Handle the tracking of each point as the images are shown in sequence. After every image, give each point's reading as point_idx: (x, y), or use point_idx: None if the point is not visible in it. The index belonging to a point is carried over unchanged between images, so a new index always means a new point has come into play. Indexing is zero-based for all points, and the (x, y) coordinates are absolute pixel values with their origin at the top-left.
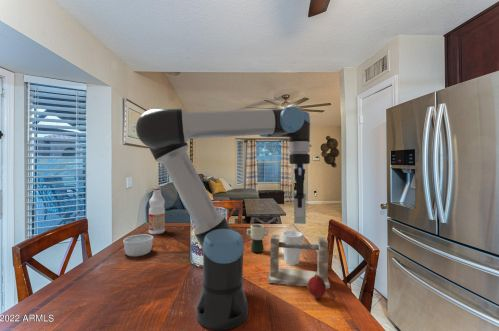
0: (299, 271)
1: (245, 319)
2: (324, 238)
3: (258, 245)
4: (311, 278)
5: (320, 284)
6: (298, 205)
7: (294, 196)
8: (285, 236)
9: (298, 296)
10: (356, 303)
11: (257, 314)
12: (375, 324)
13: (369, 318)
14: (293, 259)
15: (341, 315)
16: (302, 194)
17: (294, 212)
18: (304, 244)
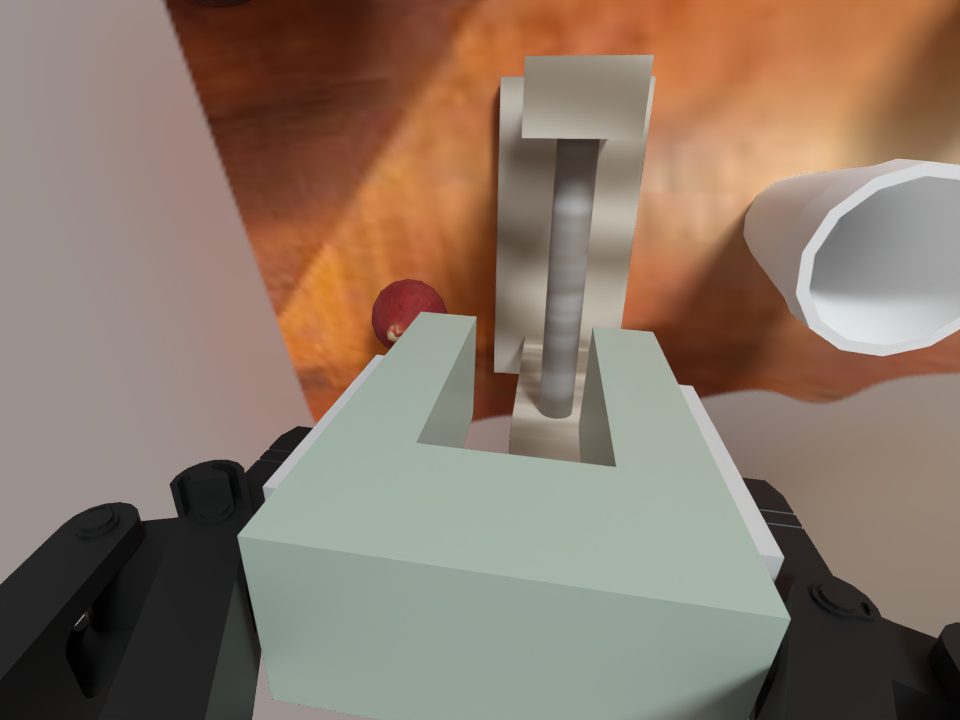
0: (613, 257)
1: (193, 2)
2: None
3: None
4: (401, 307)
5: (377, 335)
6: (276, 450)
7: (171, 485)
8: (841, 197)
9: (415, 232)
10: None
11: (247, 53)
12: None
13: None
14: (750, 235)
15: (339, 362)
16: (80, 627)
17: (384, 358)
18: (555, 333)
